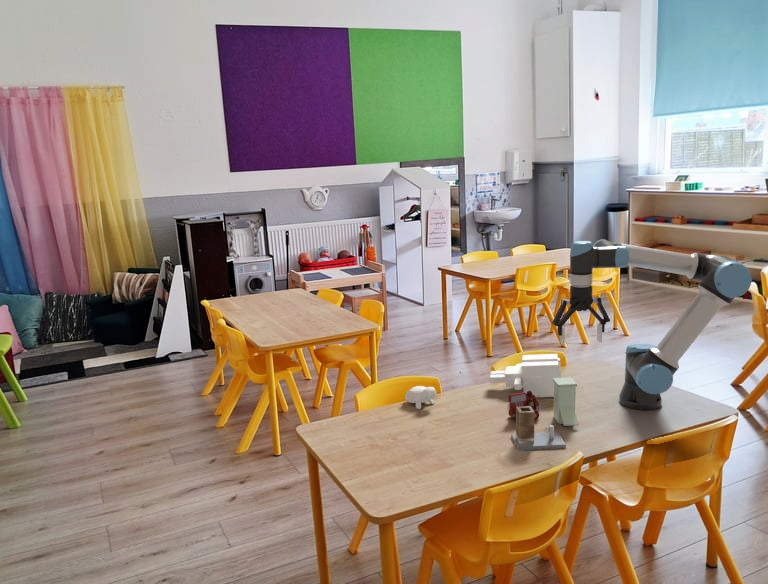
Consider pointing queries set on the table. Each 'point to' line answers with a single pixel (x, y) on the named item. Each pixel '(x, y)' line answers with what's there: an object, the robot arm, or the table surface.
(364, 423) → the table surface
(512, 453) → the table surface
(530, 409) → the sleeve
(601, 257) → the robot arm
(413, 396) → the white blocky animal toy
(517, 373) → the white voxel figure
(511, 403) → the toy fire truck
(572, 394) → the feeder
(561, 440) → the pinboard
